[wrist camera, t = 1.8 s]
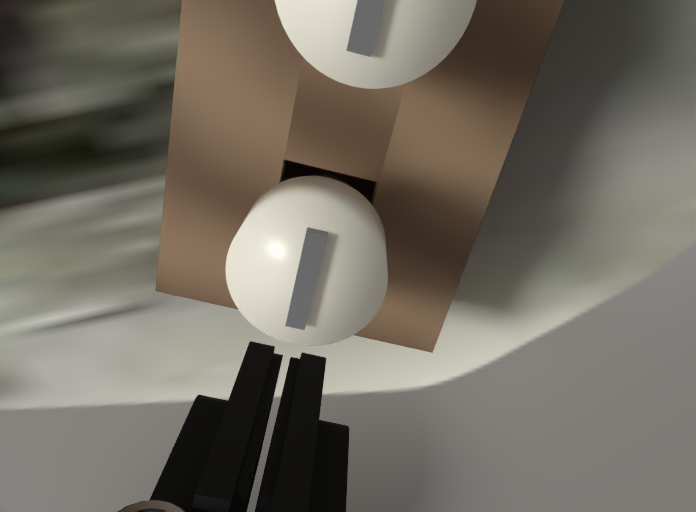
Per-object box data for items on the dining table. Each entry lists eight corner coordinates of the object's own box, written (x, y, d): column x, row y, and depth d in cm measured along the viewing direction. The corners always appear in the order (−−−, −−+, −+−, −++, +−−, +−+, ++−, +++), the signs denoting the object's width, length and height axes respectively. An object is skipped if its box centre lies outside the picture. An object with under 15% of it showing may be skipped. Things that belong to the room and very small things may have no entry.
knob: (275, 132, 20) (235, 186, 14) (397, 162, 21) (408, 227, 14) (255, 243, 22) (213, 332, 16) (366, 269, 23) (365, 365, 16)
